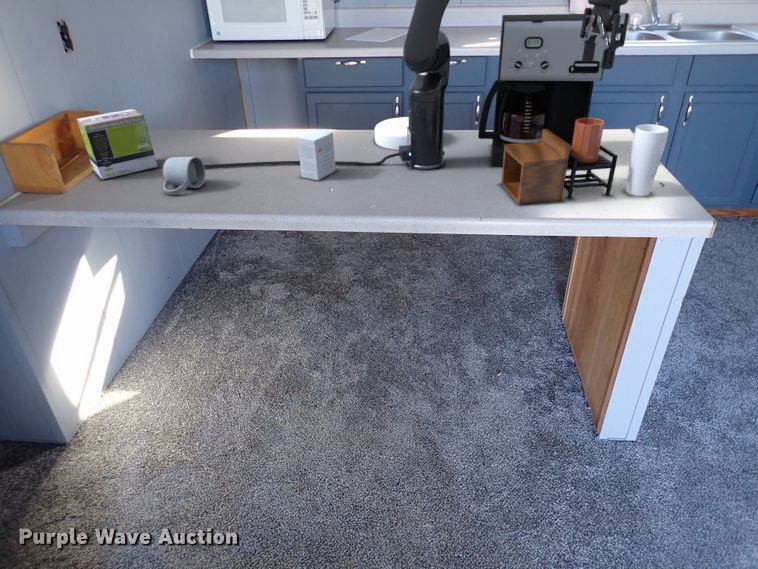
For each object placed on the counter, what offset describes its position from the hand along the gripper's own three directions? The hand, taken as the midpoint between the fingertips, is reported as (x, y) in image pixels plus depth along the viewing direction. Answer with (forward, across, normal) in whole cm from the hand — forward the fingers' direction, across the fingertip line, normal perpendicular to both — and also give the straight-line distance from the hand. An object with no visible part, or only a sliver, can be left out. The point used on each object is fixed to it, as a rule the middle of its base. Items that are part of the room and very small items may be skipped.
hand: (596, 65), depth 115 cm
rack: (+28, 0, +1) cm, 28 cm away
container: (+28, -48, -32) cm, 64 cm away
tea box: (+29, -38, -113) cm, 123 cm away
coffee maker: (+28, -25, -2) cm, 38 cm away
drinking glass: (+28, +5, +13) cm, 31 cm away
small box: (+28, -23, -60) cm, 70 cm away
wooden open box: (+28, 0, -11) cm, 30 cm away
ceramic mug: (+28, -20, -94) cm, 100 cm away
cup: (+20, 0, +1) cm, 20 cm away
